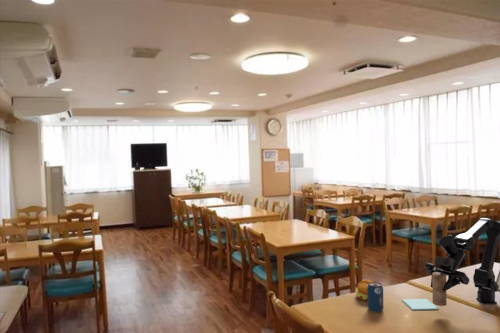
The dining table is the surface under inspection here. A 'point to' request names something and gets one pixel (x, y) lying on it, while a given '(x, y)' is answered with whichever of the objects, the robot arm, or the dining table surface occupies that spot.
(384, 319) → the dining table surface
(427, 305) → the board
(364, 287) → the cheeseburger
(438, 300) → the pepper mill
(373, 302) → the soda can
